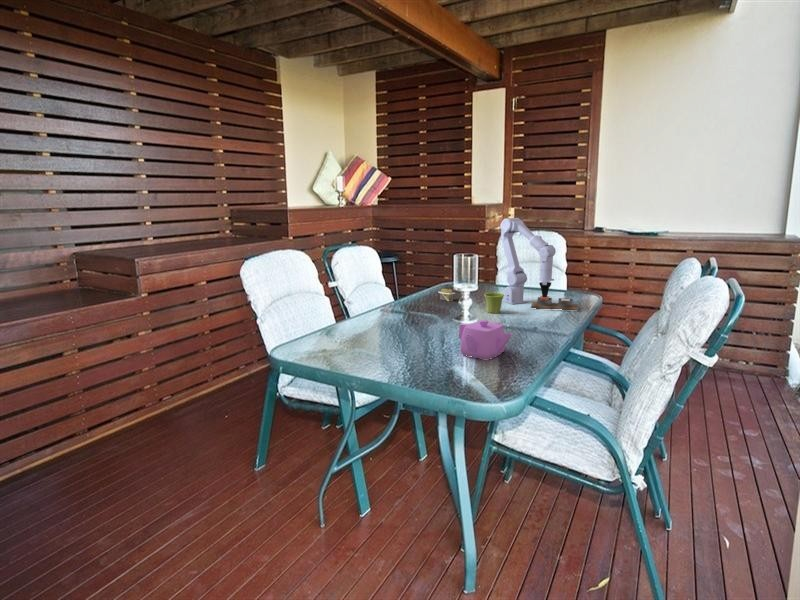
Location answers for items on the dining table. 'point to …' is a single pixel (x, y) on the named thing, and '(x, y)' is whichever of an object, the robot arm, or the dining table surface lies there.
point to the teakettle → (483, 339)
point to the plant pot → (493, 302)
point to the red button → (544, 298)
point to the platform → (446, 295)
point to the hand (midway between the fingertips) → (544, 296)
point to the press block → (554, 304)
